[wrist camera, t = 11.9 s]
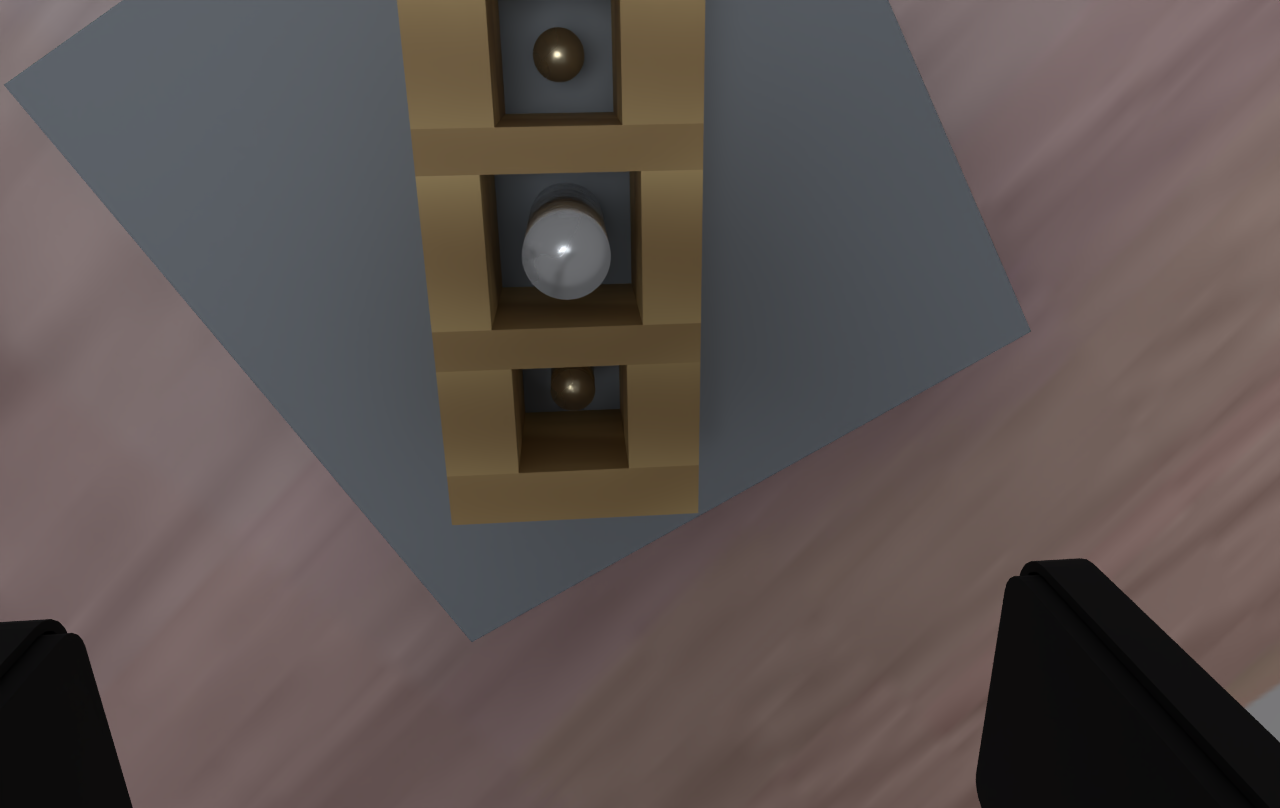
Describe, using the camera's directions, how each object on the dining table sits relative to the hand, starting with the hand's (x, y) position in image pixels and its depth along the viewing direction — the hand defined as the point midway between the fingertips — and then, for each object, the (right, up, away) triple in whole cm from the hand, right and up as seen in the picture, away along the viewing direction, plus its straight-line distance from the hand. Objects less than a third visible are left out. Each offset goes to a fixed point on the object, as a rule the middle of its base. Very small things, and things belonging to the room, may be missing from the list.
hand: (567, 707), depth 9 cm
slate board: (-1, +9, +16) cm, 19 cm away
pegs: (-1, +8, +15) cm, 17 cm away
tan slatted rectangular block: (-1, +8, +15) cm, 17 cm away
